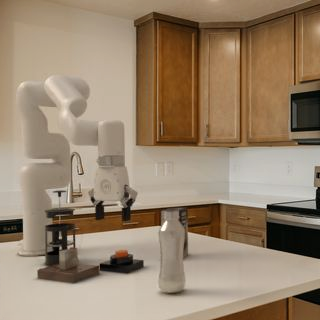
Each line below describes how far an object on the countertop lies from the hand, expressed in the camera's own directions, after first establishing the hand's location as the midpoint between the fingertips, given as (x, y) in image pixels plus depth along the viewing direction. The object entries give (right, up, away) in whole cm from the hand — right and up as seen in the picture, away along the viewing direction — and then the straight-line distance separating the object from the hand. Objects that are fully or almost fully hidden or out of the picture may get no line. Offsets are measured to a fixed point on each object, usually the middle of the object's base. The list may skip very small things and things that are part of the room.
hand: (112, 220), depth 133 cm
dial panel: (-11, -15, -6) cm, 19 cm away
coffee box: (+16, -15, +16) cm, 27 cm away
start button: (+2, -11, +2) cm, 11 cm away
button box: (+2, -15, +2) cm, 15 cm away
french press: (-20, -15, +11) cm, 27 cm away
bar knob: (-11, -13, -6) cm, 18 cm away
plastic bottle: (+21, -15, -21) cm, 33 cm away
